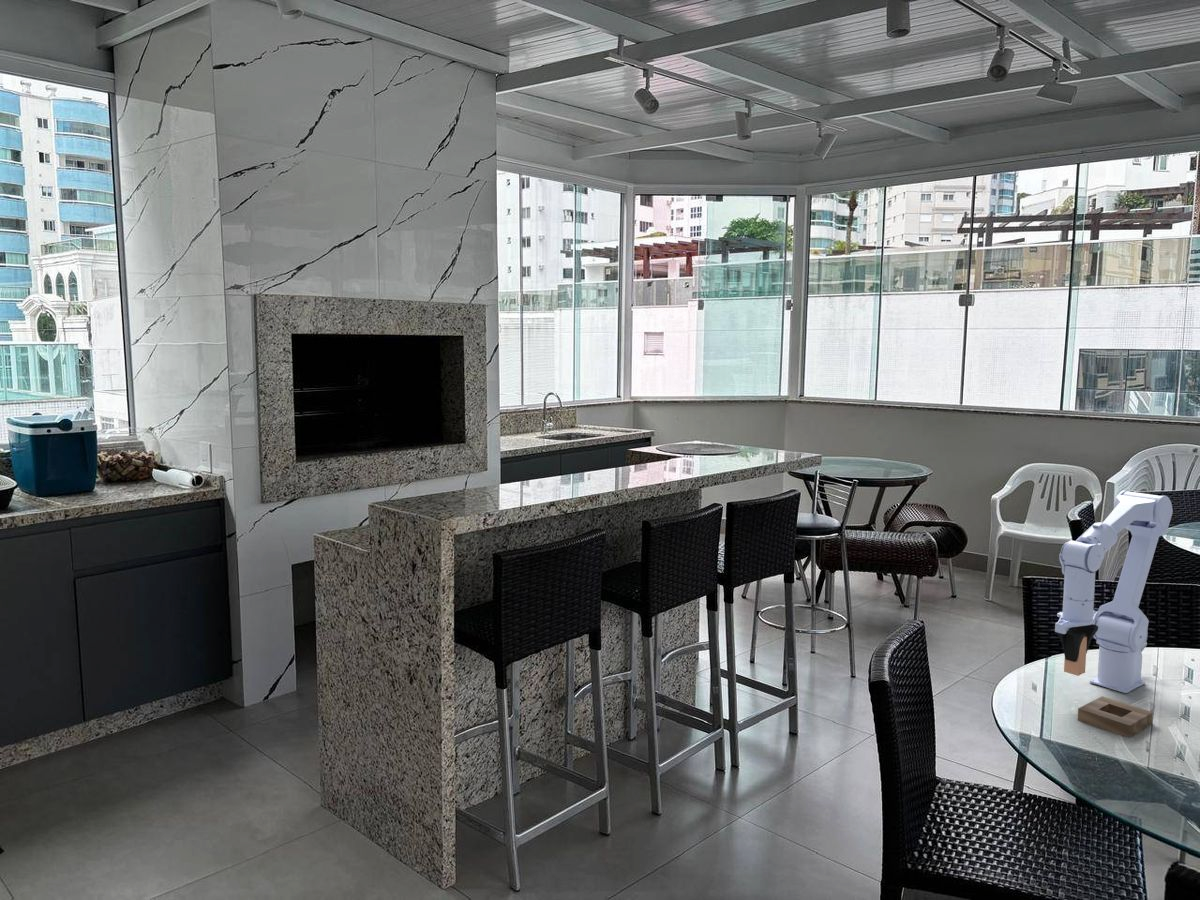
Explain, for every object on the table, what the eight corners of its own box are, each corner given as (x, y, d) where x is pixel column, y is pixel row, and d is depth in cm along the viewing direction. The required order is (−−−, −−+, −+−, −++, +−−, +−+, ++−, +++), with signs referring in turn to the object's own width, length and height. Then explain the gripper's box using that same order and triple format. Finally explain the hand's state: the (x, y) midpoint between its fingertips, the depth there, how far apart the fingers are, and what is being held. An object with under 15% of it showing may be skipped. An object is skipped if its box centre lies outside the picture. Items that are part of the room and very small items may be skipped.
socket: (1101, 707, 187) (1102, 696, 186) (1152, 723, 178) (1153, 712, 178) (1077, 719, 181) (1078, 708, 181) (1129, 737, 173) (1129, 725, 172)
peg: (1070, 668, 191) (1072, 633, 190) (1085, 672, 188) (1087, 636, 187) (1063, 671, 189) (1065, 635, 188) (1078, 675, 187) (1080, 639, 185)
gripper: (1076, 586, 194) (1073, 645, 196) (1042, 599, 186) (1039, 660, 187) (1110, 594, 188) (1106, 654, 190) (1075, 607, 180) (1072, 670, 182)
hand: (1075, 658), depth 188 cm, fingers closed on peg, 3 cm apart
